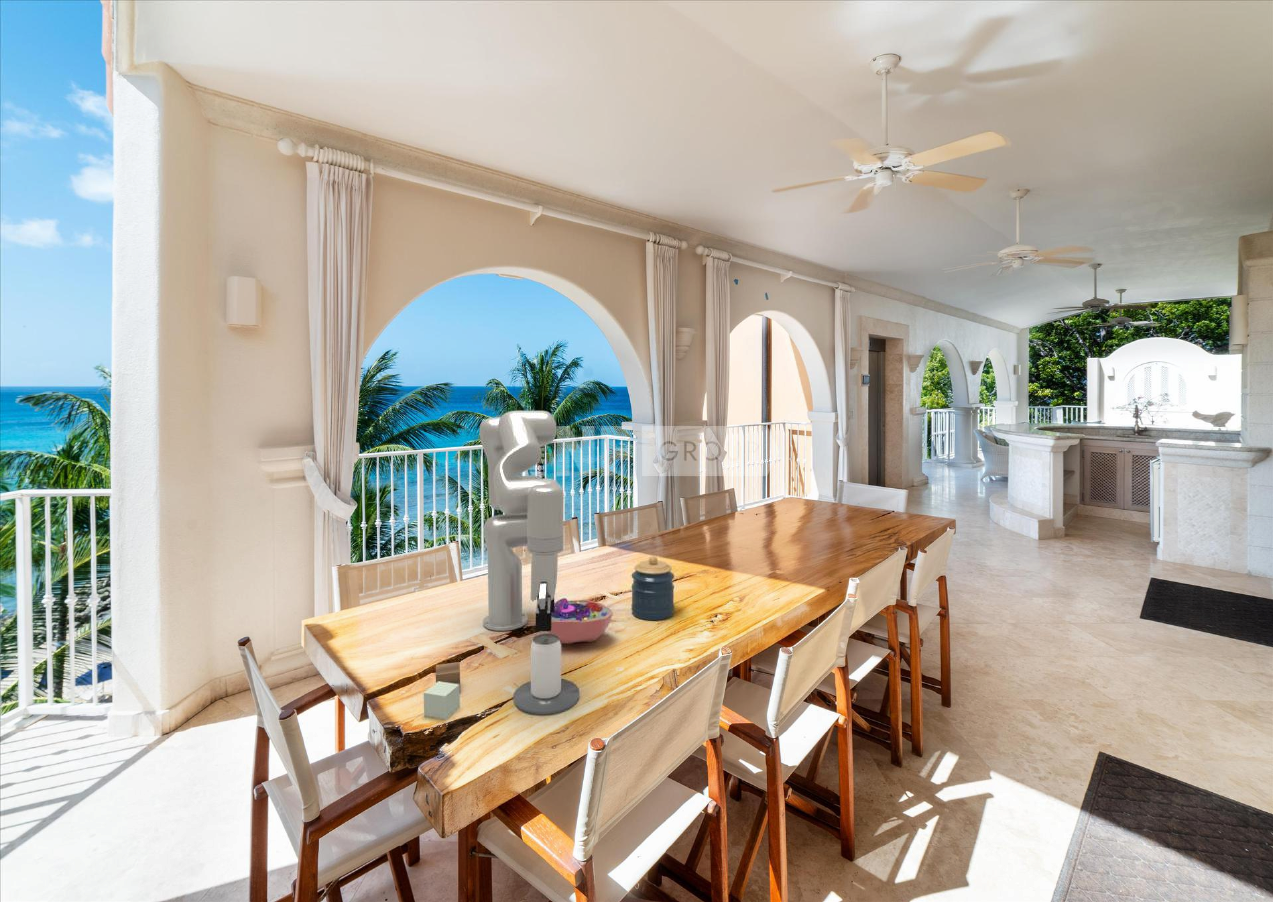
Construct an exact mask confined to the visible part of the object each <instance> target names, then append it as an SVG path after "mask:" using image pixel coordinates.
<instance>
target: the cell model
mask: <svg viewBox="0 0 1273 902" xmlns="http://www.w3.org/2000/svg"><path fill="white" fill-rule="evenodd" d="M613 614H614V612H613V610H612V609H610V608H609V607H608V606H606V605H605V604H603V603H601V602H598V601H593V600H588V599H579V600H575V599H574V600H568V599H567V598H566V597H564V598H560V599H558V600H556V601H554V612H553V613H552V619H551V631H546V633H550V634H555V635H557V636H558V637H559V641H560V643H561V644H575V643H580V642H586V643H589V642H590V643H591V642H594V641H596V640H598V638H600V637H601V636H602V635H603V633H605V631H606V630H607V629H608V627H609V624H610V622H611V619H612V617H613Z"/></svg>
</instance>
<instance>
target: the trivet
mask: <svg viewBox="0 0 1273 902" xmlns="http://www.w3.org/2000/svg"><path fill="white" fill-rule="evenodd" d="M579 699H580V689H579V687H578V685H577V684H576V683H574V682H573V681H571V680H568V679H566V678H562V677H561V691H560V693H559V694H558V695H557V696H556V697H553V698H550V699H538V698H536V697H534V696H533V695H532V693H531V680H530V681H527V682H525V683H523V684H521V685H520V686H518V687H517V688H516V689H515V691H514V693H513V704H514V706H515V708H516V709H517V710H519V711H520V712H522V713H525V714H528V715H532V716H550V715H551V716H553V715H557V714H560V713H563V712H566V711H567V710H570V709H571V708H573V707H574V706H575V705H577V703H578V701H579Z"/></svg>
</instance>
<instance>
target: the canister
mask: <svg viewBox="0 0 1273 902" xmlns="http://www.w3.org/2000/svg"><path fill="white" fill-rule="evenodd" d="M633 568H634V572H632V573H631V578H632V579H633V581H632V584H631V605H630V606H631V608H630V609H631V613H632V615H633V616H634V617H636V618H637V619H641V620H644V621H645V620H646V621H662V620H666V619H669V618H671V617H672V616H673V615H674V611H675V604H674V595H675V594H674V593H675V592H674V591H675V585H674V582H673V580H674V578H675V574H674V573H673V572H671V571H672V569H673V568H672V566H671V565H669V564H668V563H666V562H665V561H663V560H658V558H657V557H656V556H655V555H652V556H650V557H649V559H647V560H643V561H641V562H639V563H638V564H636V565H635V566H634V567H633Z"/></svg>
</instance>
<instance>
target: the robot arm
mask: <svg viewBox="0 0 1273 902" xmlns="http://www.w3.org/2000/svg"><path fill="white" fill-rule="evenodd" d="M556 436H557V423H556V420H555V418H554V416H553V415H552V414H551V413H550V412H549V411H546V410H510V411H508V412H505V413H503V414H502V415H501V416H497V417H495V416H494V417H488V418H486V419H484V420H482V421H481V423H480V425H479V439H480V443H481V446H482V448H483V451H484V455H486V457H485V458H486V460H487V474H488V475H487V477H488V478H487V481H488V500H489V501H488V502H489V505H490V507H491V508H492V509H494V510H497V511H501V512H502V513H503V514H497V515H492V516H491V517H489V518H488V519H487V520H486V521H485V522H484V526H483V536H484V541H485V547H486V554H487V555H486V556H487V587H488V589H487V593H488V594H487V595H488V600H487V601H488V603H487V604H488V615H486V616H485V618H484V619H483V621H482V624H483V627H484V628H485V629H488V630H491V631H494V632H495V631H499V632H505V631H507V632H508V631H513V630H518V629H520V628H522V627H524V626H526V624H528V622H529V617H528V615H527V614H525V613H524V612H523V570H522V569H523V564H522V560H521V558H520V556H519V555H518V554H517V553H516V552H514V550H513V549H514V548H515V549H516V548H522V547H527V548H526V549H527V552H528V553H529V554H531V566H530V597H529V598H530V601H531V602H534V601H536V608H535V610H536V611H535V632H536V633H537V632H547V631H551V619H552V613H553V612H554V602H555V595H556V589H557V584H558V583H557V580H558V561H559V560H558V559H559V558H558V556H559V554H560V553H562V552H563V551H564V502H565V501H564V496H565V495H564V489H563V488H562V487H561V485H560V484H559V483H558V481H557V480H555V479H553V478H541V477H540V476H537V475H520V474H522V473H524V472H527V471H528V470H530V469H532V468H533V467H535V466H536V465H538V463H539V462H540V461H541V459H542V449H541V447H544V446H547V445H550V444H551V443H553V441H554V440H555V438H556Z"/></svg>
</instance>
